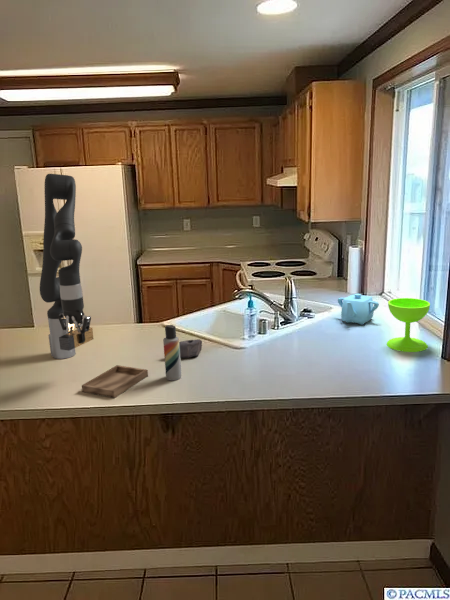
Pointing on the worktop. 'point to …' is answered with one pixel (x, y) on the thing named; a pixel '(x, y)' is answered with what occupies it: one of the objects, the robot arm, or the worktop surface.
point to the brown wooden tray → (115, 381)
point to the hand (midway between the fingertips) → (77, 342)
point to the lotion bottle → (172, 353)
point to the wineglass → (408, 322)
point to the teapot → (357, 308)
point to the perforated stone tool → (190, 348)
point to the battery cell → (74, 339)
